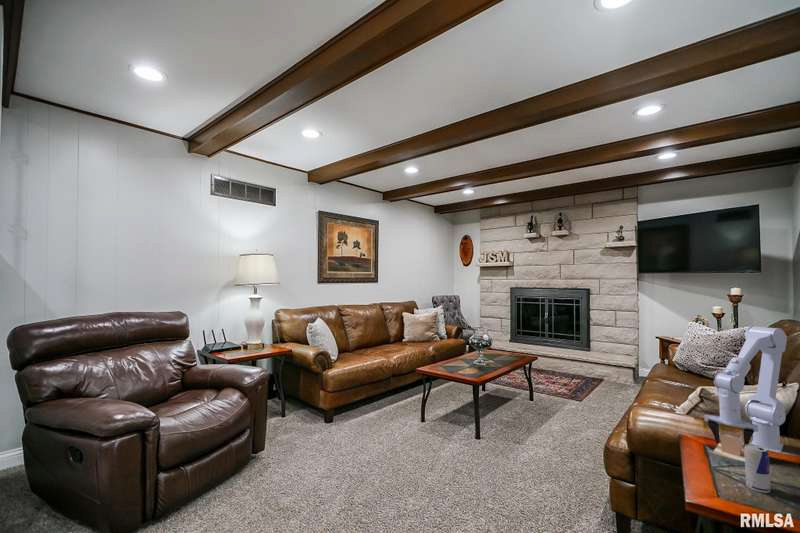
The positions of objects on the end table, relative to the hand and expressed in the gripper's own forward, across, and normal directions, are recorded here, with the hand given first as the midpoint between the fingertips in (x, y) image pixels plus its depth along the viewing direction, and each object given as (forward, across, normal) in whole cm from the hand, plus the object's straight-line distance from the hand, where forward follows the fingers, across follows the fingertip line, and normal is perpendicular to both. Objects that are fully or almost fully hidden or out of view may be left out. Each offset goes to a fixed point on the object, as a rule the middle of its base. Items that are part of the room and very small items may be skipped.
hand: (731, 446), depth 136 cm
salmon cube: (+2, 0, 0) cm, 2 cm away
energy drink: (+2, +10, -24) cm, 26 cm away
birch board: (+2, 0, 0) cm, 2 cm away
